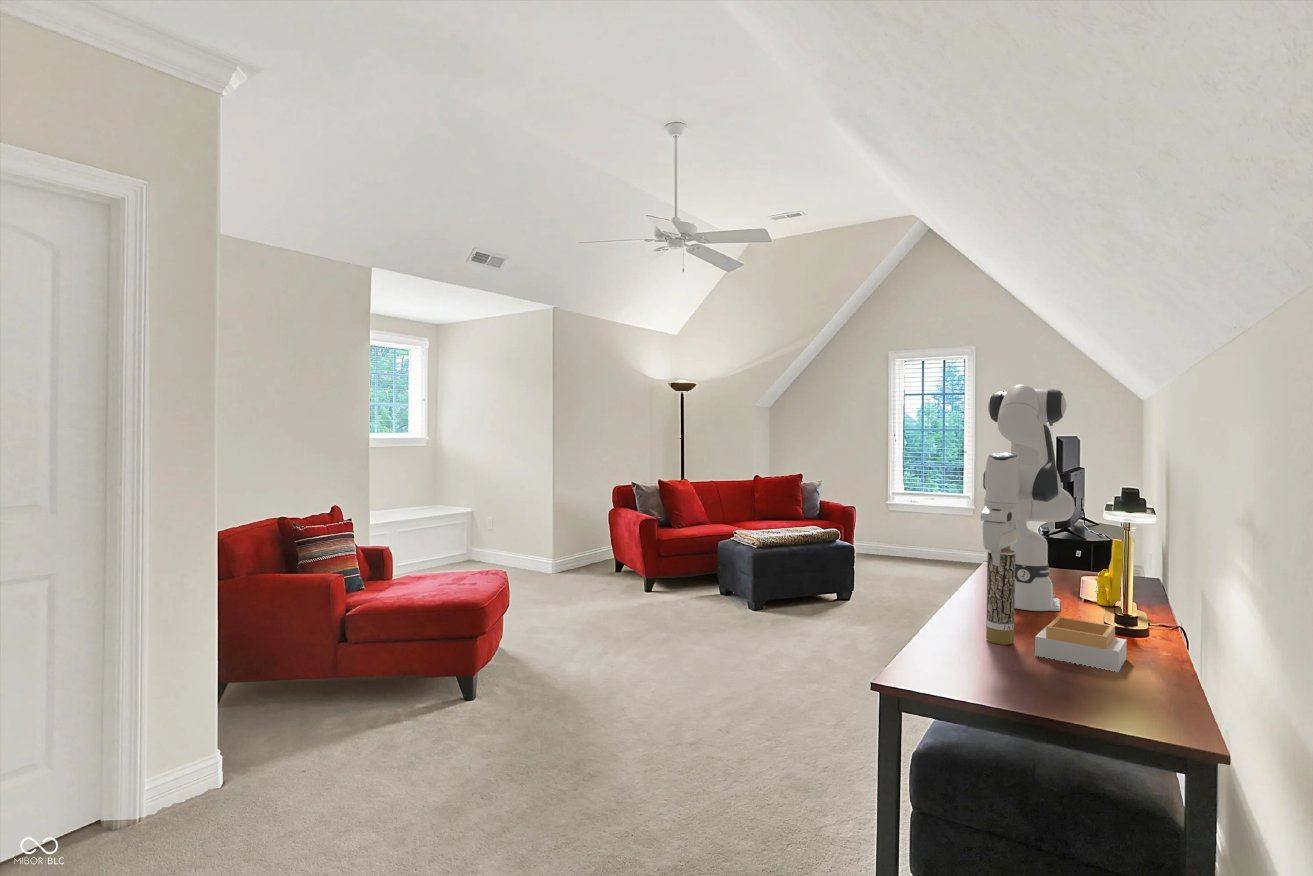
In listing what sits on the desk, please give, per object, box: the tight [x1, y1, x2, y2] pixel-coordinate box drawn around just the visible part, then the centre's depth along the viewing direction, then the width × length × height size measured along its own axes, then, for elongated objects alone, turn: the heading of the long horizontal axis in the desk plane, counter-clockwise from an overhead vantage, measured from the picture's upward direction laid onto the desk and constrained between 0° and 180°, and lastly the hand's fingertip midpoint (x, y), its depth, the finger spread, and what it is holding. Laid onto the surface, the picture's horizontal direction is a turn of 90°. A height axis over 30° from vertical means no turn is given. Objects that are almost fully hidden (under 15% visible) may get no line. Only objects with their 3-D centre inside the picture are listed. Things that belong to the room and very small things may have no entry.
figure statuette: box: [1095, 538, 1124, 607], centre depth 230 cm, size 18×8×22 cm, turn 158°
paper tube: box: [985, 549, 1015, 646], centre depth 189 cm, size 7×7×25 cm
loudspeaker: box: [1034, 616, 1128, 673], centre depth 177 cm, size 13×18×8 cm
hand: (1001, 563), depth 189 cm, fingers closed on paper tube, 7 cm apart
